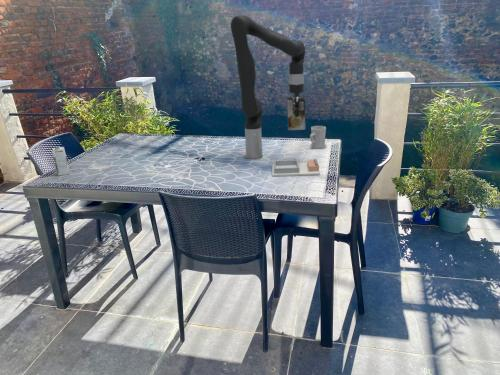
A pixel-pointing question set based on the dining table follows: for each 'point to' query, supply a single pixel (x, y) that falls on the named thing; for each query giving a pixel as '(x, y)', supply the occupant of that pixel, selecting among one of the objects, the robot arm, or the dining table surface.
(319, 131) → the cup
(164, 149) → the dining table surface
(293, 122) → the coffee box
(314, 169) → the pink rectangular block
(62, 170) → the syrup box
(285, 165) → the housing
